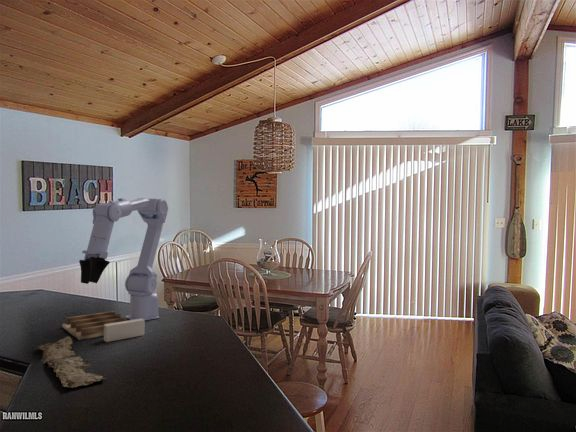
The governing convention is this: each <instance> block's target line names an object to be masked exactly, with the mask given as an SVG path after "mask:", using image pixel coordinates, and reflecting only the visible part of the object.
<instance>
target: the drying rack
mask: <svg viewBox="0 0 576 432" xmlns="http://www.w3.org/2000/svg"><path fill="white" fill-rule="evenodd" d="M122 321H128V318H126V316H125V317H122V315H121V314H120V313H118V314H117V313H116V311H115V310H111V311H104V312H97V313H89V314H84V315H77V316H69V317H65V323H62V324H61V325H62V328H63V329H64V330H65V331H67V332H68V333H69V334H70V335H71V336H73V337H74V338H76V339H77V340H78V341H82V340H87V339H92V338H98V337H104V324H110V323H116V322H122Z"/></svg>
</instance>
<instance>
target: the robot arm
mask: <svg viewBox="0 0 576 432" xmlns="http://www.w3.org/2000/svg"><path fill="white" fill-rule="evenodd" d="M135 211H137V213H138V214H139V216H140V217H141V219H142V221H143V222H144V223H146V225H147V228H146V231H145V235H144V239H143V242H142V247H141V251H140V254H139V258H138V262H137V265H136V266H135V267H133V268H132V269H130V270H129V274H128V276H127V277H126V279H125V281H124V282H125V283H124V287H125V290H126V291H127V292H128V295H129V298H130V299H129V304H130V305H129V315H125V317H126V318H127V320H135V319H141V318H142V319H144V320H145V321H149V320H155V319H159V318H160V316H159V305H160V304H159V303H160V301H159V297H158V293H156V292H155V291H156V289H157V282H158V281H157V280H158V279H157V278H158V273H156V271H155V270H154V269H153V266H154V262H155V258H156V255H157V254H156V253H157V250H158V246H159V242H160V238H161V234H162V231H163V226H164V223H166V219H167V216H168V213H169V207H168V203H167V201H166V199H165V198H150V197H149V198H146V197H145V198H144V197H138V198H136V199H133V200H127V199H125V198H123V197H120V198H117V200H115V201H114V200H109V201H108V203H107V202H106V203H105V202H101V203H98V204H96V205H95V207H94V208H93V209H92V217H93V218H92V224H93V226H92V229H91V233H90V237H89V242H88V245H87V249H85V250H82V251H81V253H82V254H84V258H83V259H79V261H78V262H79V266H80V283H82V284H85V285H88V284H89V283H93V284H97V283H98V282H99V281H100V278H101V276H102V274H103V272H104V270H105V269H106V268H107V267H108V266H109V264H110V262H111V261H109V260H106V259H108V255H109V252H108V249H109V245H110V241H111V236H112V234H113V233H112V232H113V229H114V225H115V224H114V223H115V222H118V221H119V220H120V219H122V218H125V217H128V216H130V215H131V214H132V212H135Z"/></svg>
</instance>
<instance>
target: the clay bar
mask: <svg viewBox="0 0 576 432" xmlns="http://www.w3.org/2000/svg"><path fill="white" fill-rule="evenodd" d="M145 322H146V320H144V319H142V318H141V319H135V320H130V319H128V320H127V321H122V322H116V323H110V324H104V336H103V341H104V342H106V343H109V342H114V341H120V340H125V339H130V338H135V337H141V336H145V332H146V331H145V328H146V327H145V324H146V323H145Z"/></svg>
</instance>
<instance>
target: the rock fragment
mask: <svg viewBox="0 0 576 432" xmlns="http://www.w3.org/2000/svg"><path fill="white" fill-rule="evenodd" d="M71 345H73V340H72V338H71V336H69V335H67V336H65V337H64V338H61V339H59V340H58V341H56V342H54V343H52V342H51V343H50V342H48V343H44V345H43V344H42V345H39V346H36V349H38V350H40V351H42V356H41V359H40V362H42V364H43V365H45V364H47V365H48V368H52V369H53V370H52V371H53V372H54V373H56V374H55V378H58V379H59V380H60V382H61V384H62V387H64V388H72V389H73V388H77V387H80V386H88V385H92V384H93V383H95V382H100V381H102V380H105V379H107V377H104V376H103V375H101V374H99V373H97V374H95V373H92V372H88V373H86V371H84V370H87V369H88V370H89V369H92V368H91V367H92V365H91V364H89V363H88V360H86V361H85V362H83V358H82V357H81V355H79V354H76V353H75V351H74V350H73V348H72V346H71Z"/></svg>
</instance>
